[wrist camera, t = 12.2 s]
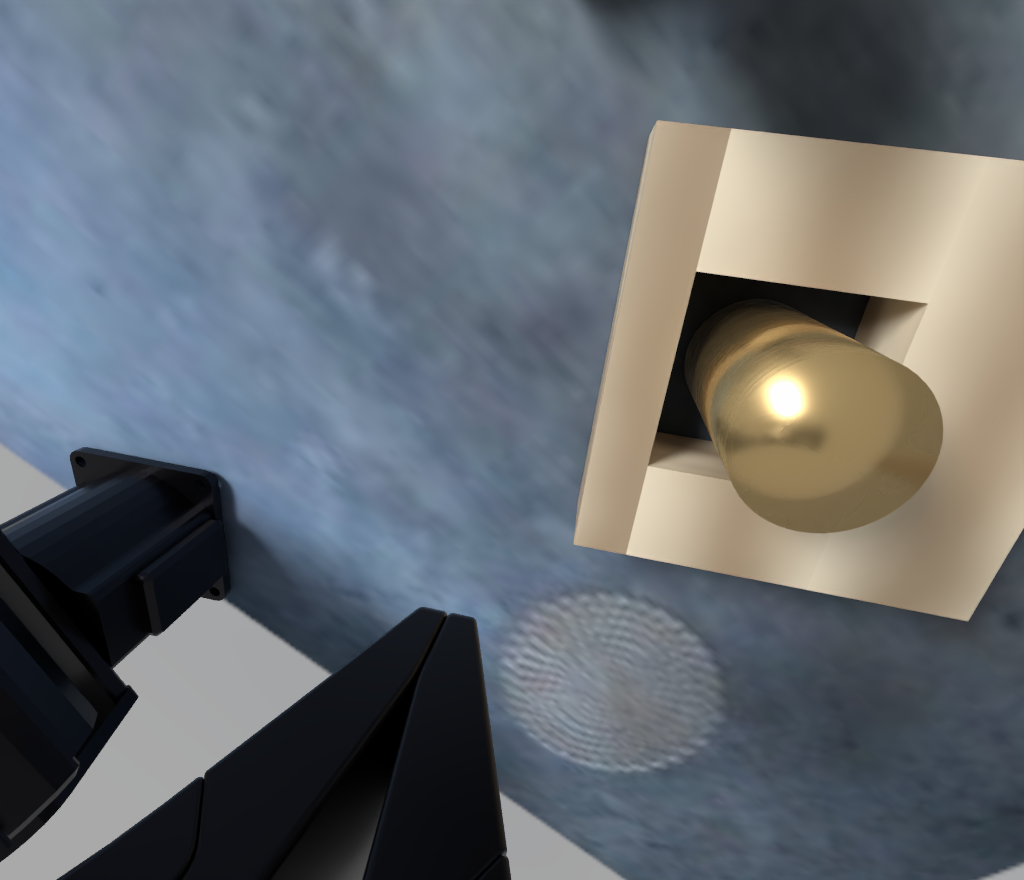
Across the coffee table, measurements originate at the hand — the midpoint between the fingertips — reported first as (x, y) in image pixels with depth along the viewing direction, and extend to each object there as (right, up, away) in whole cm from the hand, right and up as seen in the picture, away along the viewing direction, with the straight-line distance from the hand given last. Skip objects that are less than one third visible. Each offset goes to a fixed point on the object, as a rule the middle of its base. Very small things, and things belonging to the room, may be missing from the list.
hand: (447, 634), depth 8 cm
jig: (+10, +5, +9) cm, 15 cm away
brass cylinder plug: (+9, +5, +9) cm, 14 cm away
